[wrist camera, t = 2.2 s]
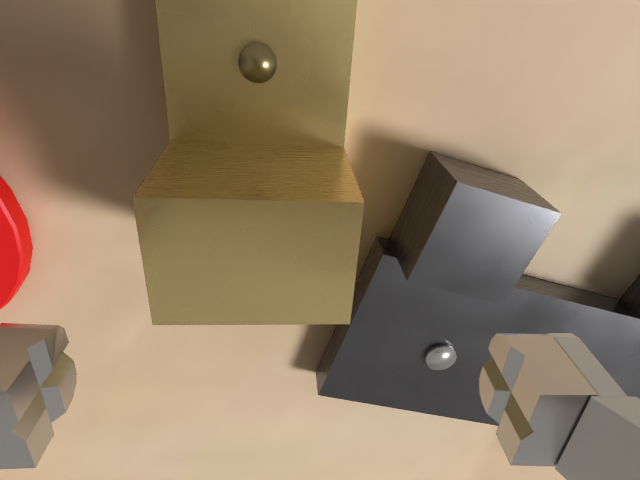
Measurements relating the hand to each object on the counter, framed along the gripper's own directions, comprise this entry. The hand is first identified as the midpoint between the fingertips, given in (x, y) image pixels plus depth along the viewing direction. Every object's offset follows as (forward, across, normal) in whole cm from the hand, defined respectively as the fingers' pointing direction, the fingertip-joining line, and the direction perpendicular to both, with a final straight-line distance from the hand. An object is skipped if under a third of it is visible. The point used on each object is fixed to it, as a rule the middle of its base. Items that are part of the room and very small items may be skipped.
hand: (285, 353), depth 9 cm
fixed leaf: (+8, -10, +5) cm, 14 cm away
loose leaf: (+7, +1, -2) cm, 8 cm away
